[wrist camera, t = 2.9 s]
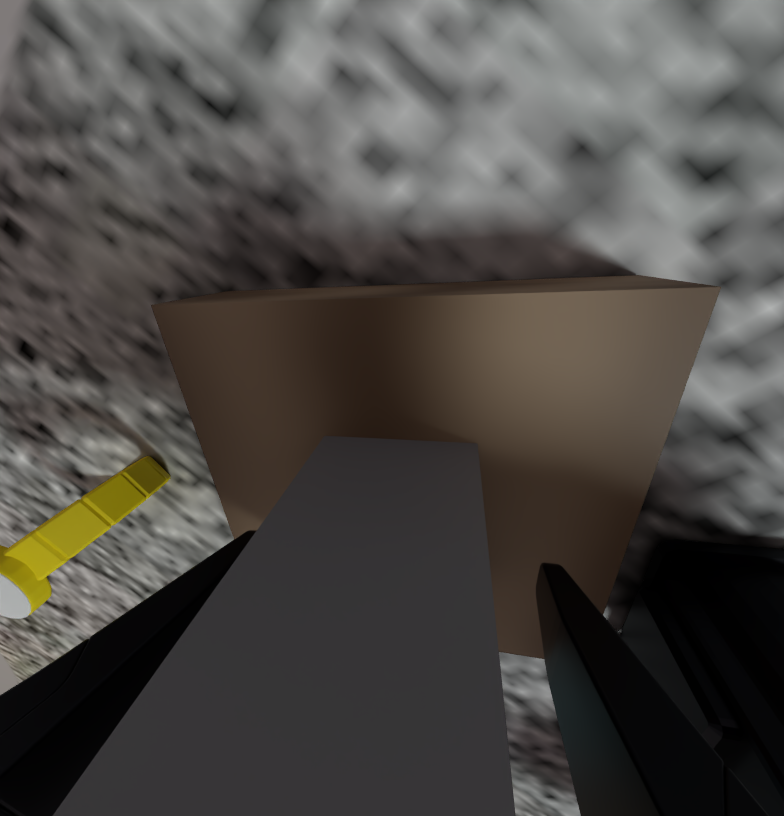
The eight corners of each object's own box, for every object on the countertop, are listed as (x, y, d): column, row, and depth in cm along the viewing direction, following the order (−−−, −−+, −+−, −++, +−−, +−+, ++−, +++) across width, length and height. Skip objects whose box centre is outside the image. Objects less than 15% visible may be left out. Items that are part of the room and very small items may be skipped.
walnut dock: (638, 274, 8) (721, 286, 6) (559, 584, 14) (584, 665, 11) (227, 291, 11) (150, 305, 8) (293, 551, 16) (260, 613, 13)
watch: (159, 426, 14) (-10, 524, 9) (204, 472, 15) (74, 588, 10) (88, 482, 16) (-86, 591, 11) (131, 521, 17) (-11, 640, 12)
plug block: (477, 443, 8) (543, 1095, 2) (468, 580, 10) (483, 1094, 4) (324, 435, 9) (3, 883, 3) (345, 564, 11) (198, 977, 5)
